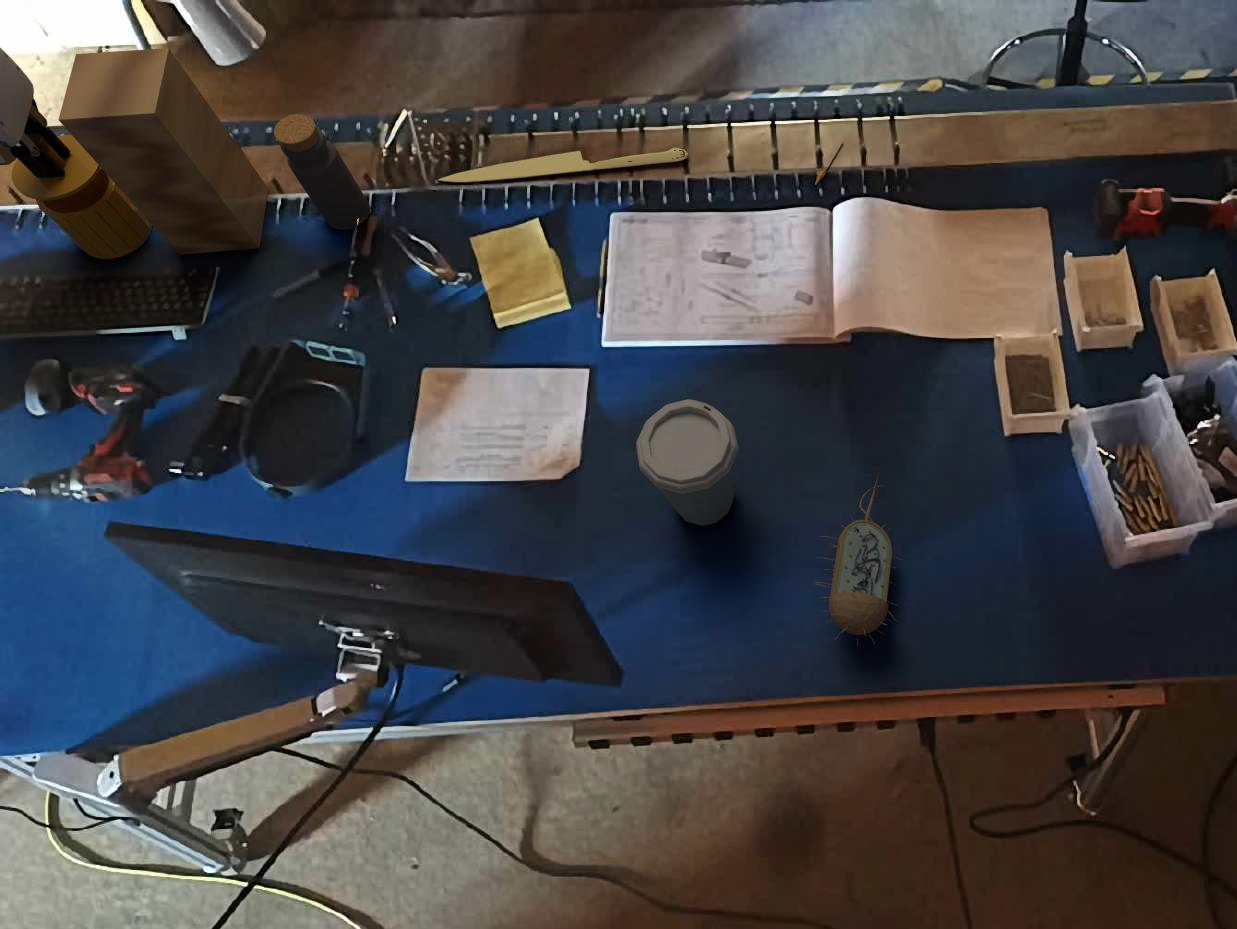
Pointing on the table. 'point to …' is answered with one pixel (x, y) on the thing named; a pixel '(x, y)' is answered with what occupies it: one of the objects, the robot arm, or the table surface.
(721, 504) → the disposable coffee cup
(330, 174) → the bottle
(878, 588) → the bacterium
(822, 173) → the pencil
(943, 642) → the table surface
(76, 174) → the lid
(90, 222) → the wooden cup
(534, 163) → the knife
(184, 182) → the stand
